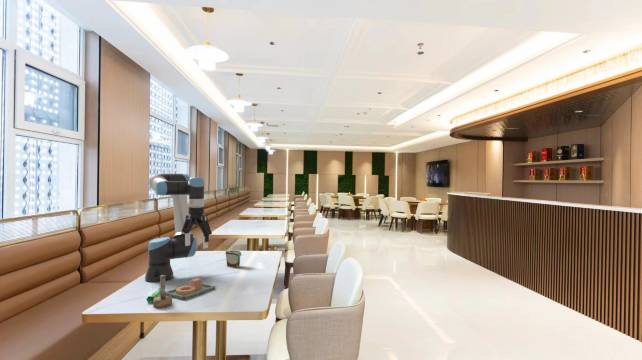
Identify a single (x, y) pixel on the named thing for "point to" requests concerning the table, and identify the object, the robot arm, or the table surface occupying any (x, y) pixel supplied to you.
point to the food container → (233, 258)
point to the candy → (153, 296)
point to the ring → (190, 287)
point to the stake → (162, 296)
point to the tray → (204, 289)
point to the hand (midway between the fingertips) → (196, 246)
